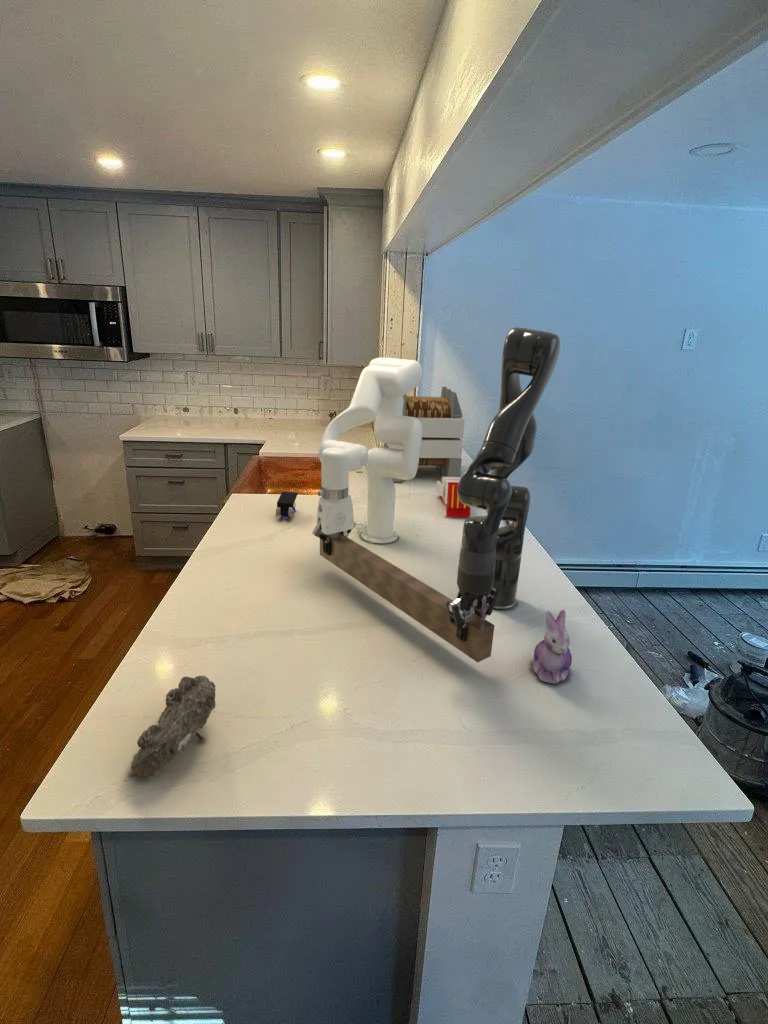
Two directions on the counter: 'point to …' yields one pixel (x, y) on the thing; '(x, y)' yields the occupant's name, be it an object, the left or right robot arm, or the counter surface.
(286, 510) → the figurine character
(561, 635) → the figurine
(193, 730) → the fossil
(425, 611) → the beam
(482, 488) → the right robot arm
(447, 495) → the toy
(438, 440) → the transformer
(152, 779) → the counter surface
